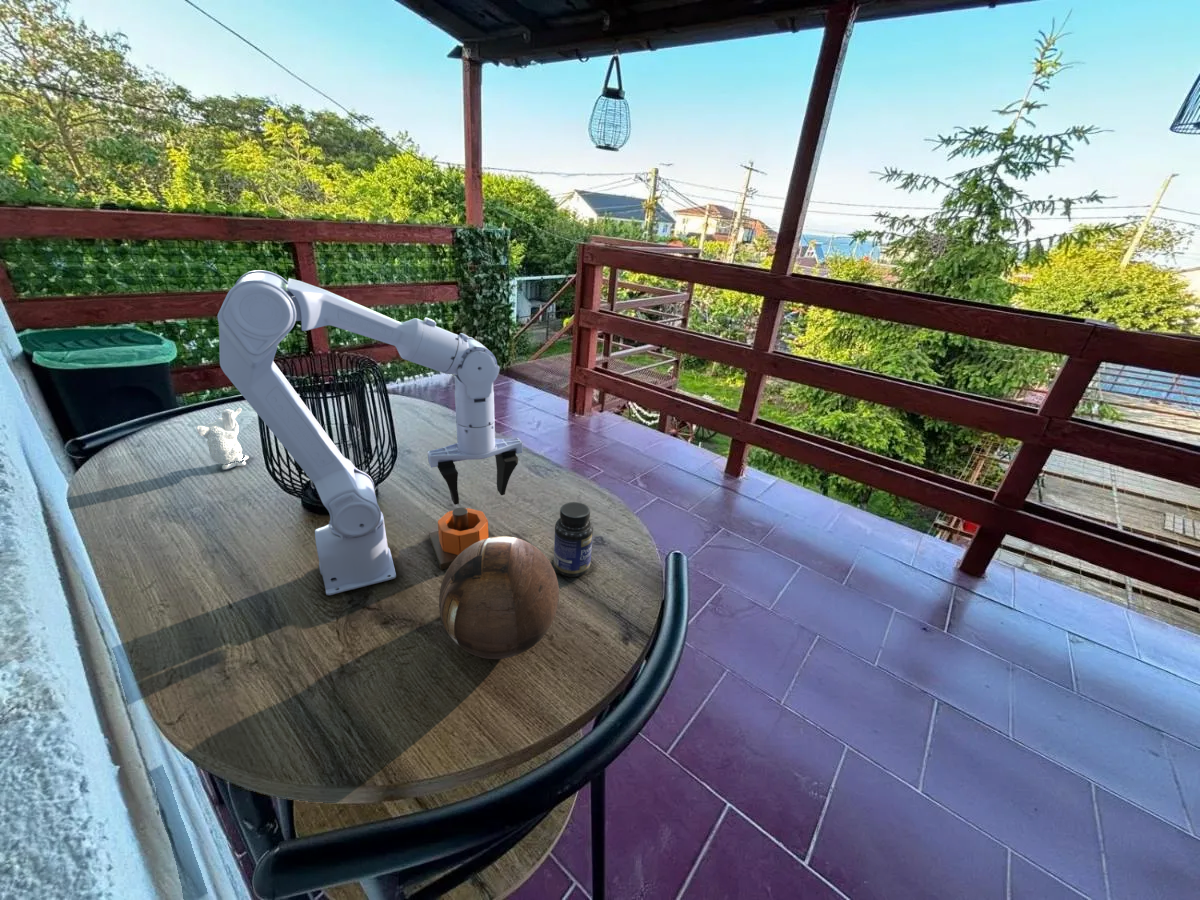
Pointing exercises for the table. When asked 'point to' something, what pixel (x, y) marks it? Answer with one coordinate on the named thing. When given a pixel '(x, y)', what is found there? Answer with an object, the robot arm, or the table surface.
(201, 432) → the white sheep figurine
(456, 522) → the peg stand
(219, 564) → the table surface
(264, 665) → the table surface
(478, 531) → the ring
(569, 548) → the pill bottle
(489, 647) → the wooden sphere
